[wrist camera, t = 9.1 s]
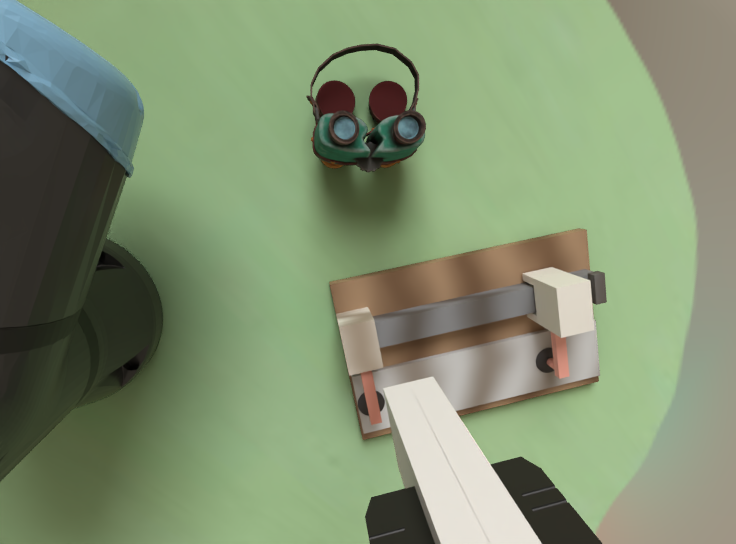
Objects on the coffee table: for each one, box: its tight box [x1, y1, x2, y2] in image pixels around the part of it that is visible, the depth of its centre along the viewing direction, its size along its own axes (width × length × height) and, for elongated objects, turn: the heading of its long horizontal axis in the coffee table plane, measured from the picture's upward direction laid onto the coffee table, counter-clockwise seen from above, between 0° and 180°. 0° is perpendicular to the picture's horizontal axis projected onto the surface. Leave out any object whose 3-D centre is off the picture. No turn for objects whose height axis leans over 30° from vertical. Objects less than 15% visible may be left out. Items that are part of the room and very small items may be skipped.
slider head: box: [522, 267, 594, 379], centre depth 41 cm, size 3×10×6 cm, turn 11°
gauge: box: [329, 229, 607, 440], centre depth 42 cm, size 25×16×5 cm, turn 101°
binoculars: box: [306, 44, 426, 172], centre depth 35 cm, size 9×10×10 cm
